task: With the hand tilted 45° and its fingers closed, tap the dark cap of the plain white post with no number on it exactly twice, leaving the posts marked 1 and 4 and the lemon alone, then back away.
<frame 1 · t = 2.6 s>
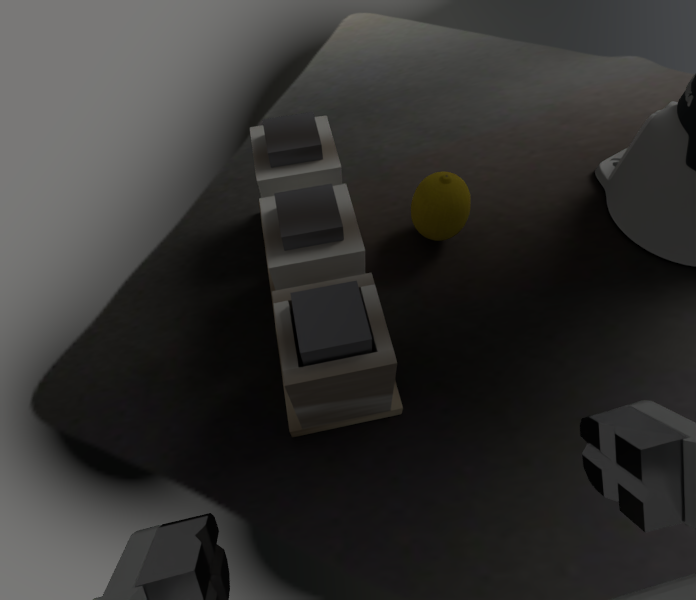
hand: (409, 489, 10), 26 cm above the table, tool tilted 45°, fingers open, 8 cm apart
button panel: (321, 298, 43), on the table
lemon: (434, 236, 47), on the table
plain button: (333, 339, 31), point 9 cm above the table, slide at 0.2 cm
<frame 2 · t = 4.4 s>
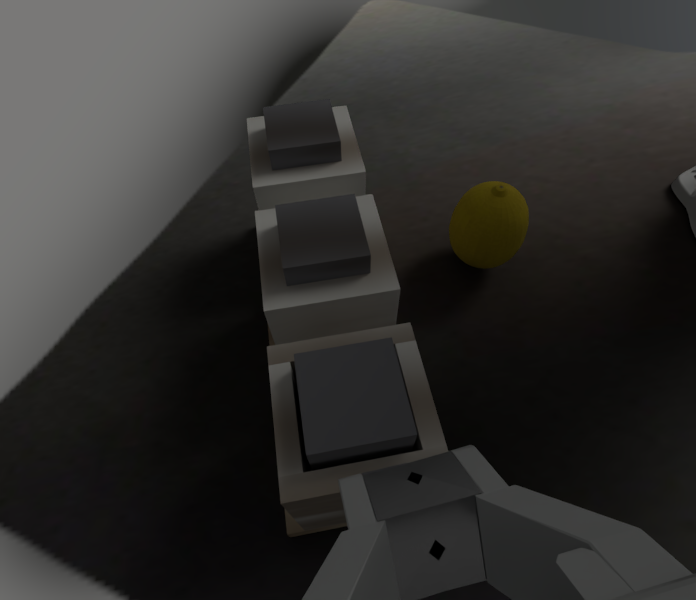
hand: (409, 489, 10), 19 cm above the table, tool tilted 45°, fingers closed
button panel: (332, 338, 33), on the table
lemon: (475, 261, 37), on the table
plain button: (353, 417, 21), point 9 cm above the table, slide at 0.2 cm
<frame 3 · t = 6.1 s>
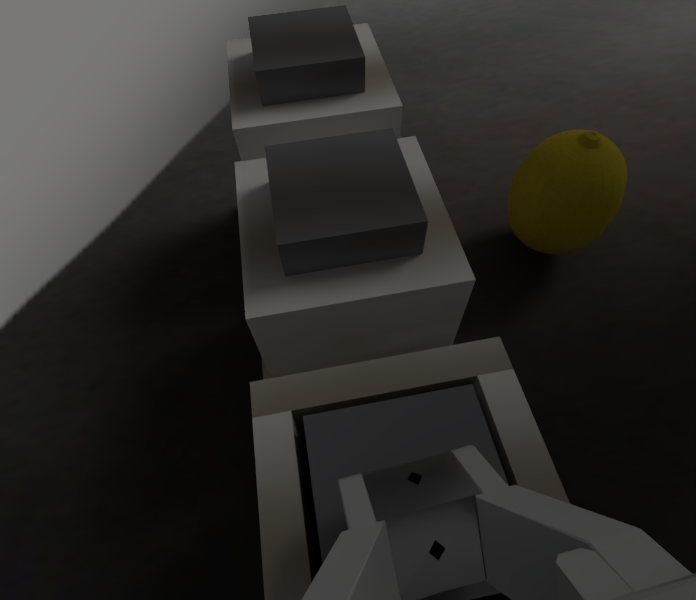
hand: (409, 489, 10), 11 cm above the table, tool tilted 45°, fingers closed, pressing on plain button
button panel: (350, 352, 24), on the table
lemon: (537, 246, 28), on the table
plain button: (401, 512, 13), point 8 cm above the table, slide at 1.2 cm, touching gripper
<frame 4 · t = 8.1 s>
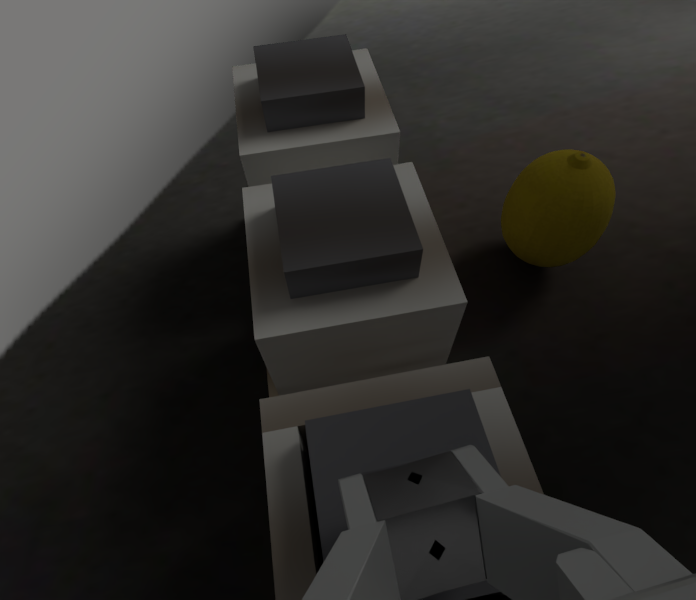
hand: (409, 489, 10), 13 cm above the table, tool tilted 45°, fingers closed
button panel: (351, 362, 25), on the table
lemon: (531, 258, 29), on the table
plain button: (400, 513, 13), point 8 cm above the table, slide at 0.3 cm
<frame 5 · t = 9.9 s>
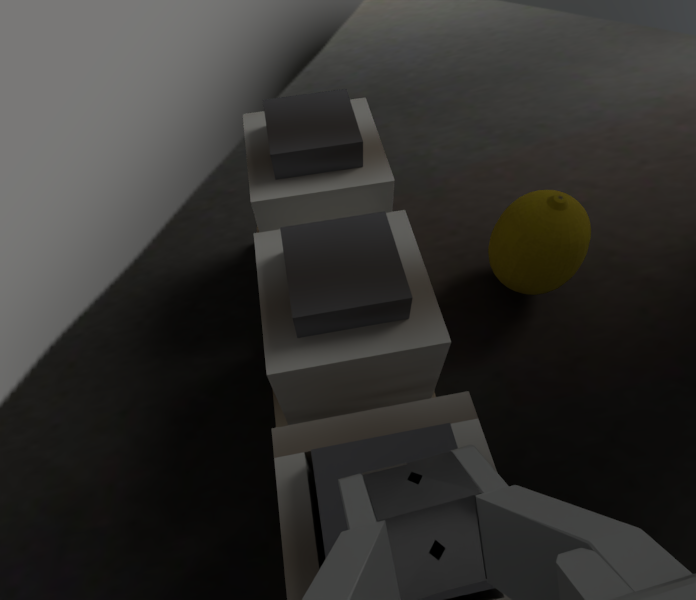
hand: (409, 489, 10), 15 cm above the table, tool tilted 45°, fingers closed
button panel: (349, 382, 27), on the table
lemon: (516, 284, 31), on the table
plain button: (392, 526, 15), point 8 cm above the table, slide at 0.3 cm
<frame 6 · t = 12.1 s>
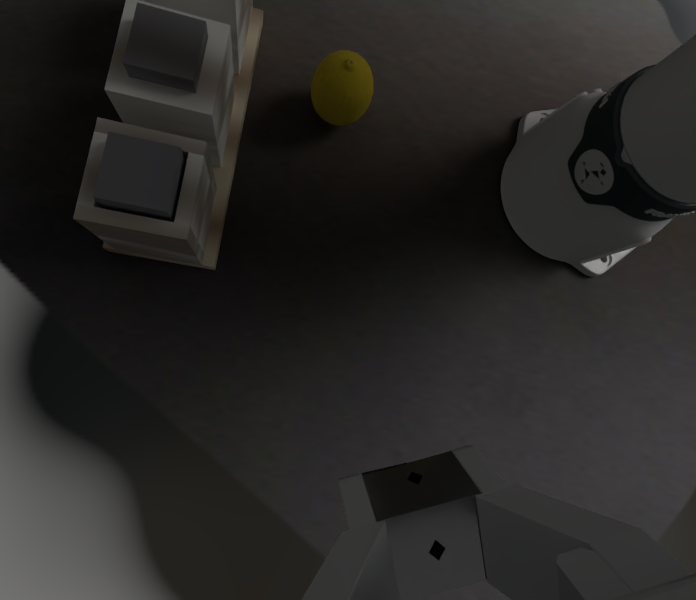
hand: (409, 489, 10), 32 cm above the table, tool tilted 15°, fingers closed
button panel: (190, 129, 41), on the table
lemon: (333, 114, 45), on the table
plain button: (149, 189, 32), point 8 cm above the table, slide at 0.3 cm
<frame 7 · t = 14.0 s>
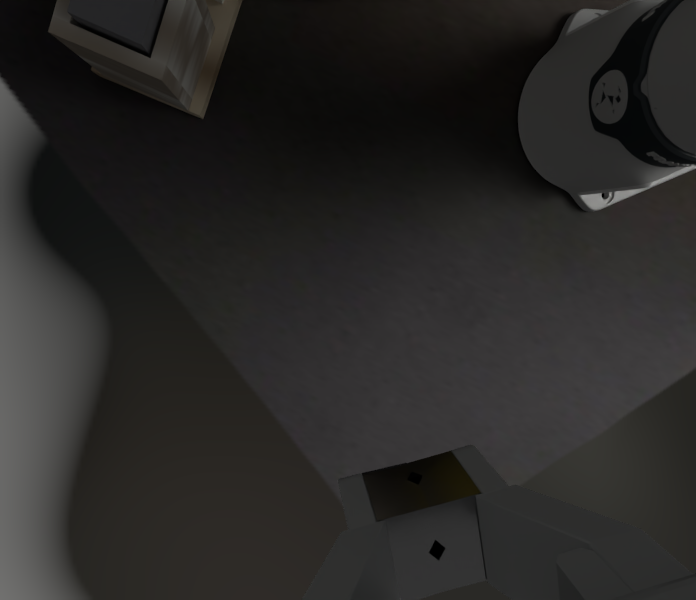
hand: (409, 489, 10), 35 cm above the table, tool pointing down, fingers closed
plain button: (132, 15, 30), point 8 cm above the table, slide at 0.3 cm
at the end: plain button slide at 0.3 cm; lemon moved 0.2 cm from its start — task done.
